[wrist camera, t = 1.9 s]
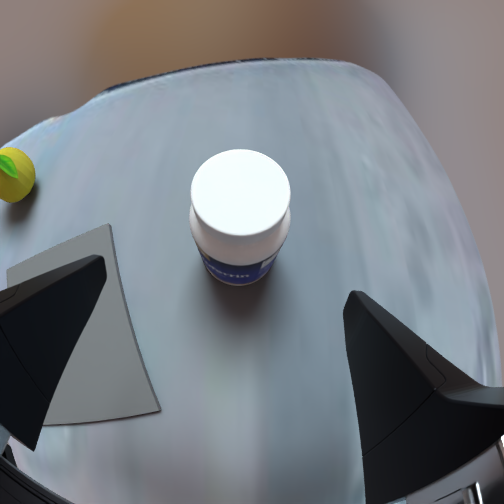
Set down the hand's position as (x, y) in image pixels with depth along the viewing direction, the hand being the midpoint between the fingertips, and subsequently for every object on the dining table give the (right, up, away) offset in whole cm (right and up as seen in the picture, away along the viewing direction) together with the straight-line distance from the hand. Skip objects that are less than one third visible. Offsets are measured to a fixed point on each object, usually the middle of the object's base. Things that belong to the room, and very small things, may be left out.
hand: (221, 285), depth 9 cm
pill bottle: (0, +1, +13) cm, 13 cm away
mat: (-15, -6, +9) cm, 19 cm away
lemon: (-25, +8, +14) cm, 29 cm away
